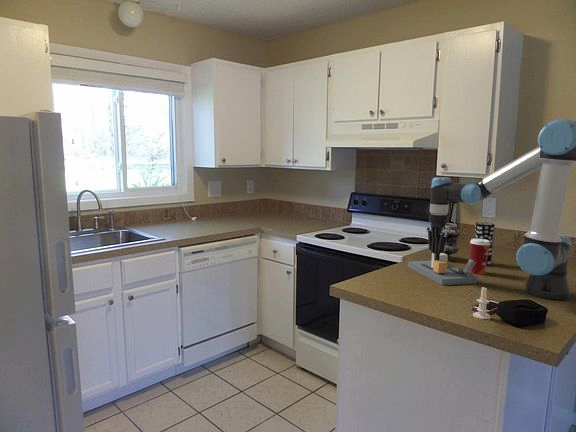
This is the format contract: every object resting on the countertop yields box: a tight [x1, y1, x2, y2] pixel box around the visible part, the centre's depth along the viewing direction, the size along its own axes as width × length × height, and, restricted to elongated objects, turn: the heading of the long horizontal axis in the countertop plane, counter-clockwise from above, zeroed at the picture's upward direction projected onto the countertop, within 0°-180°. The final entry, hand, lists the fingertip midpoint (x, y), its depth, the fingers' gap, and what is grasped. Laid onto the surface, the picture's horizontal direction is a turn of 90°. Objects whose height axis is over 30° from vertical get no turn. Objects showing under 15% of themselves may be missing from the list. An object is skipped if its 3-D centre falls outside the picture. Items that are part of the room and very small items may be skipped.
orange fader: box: [433, 260, 448, 273], centre depth 176 cm, size 4×4×4 cm
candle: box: [472, 286, 491, 320], centre depth 136 cm, size 5×5×10 cm
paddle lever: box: [462, 258, 476, 275], centre depth 174 cm, size 3×2×7 cm, turn 13°
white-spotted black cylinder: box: [473, 221, 496, 267], centre depth 202 cm, size 8×8×20 cm
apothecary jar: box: [443, 222, 461, 262], centre depth 211 cm, size 12×12×18 cm
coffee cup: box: [469, 238, 490, 275], centre depth 187 cm, size 8×8×15 cm
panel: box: [407, 260, 478, 286], centre depth 183 cm, size 28×16×4 cm, turn 13°
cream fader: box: [439, 253, 448, 263], centre depth 190 cm, size 4×4×4 cm
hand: (434, 267), depth 180 cm, fingers closed
